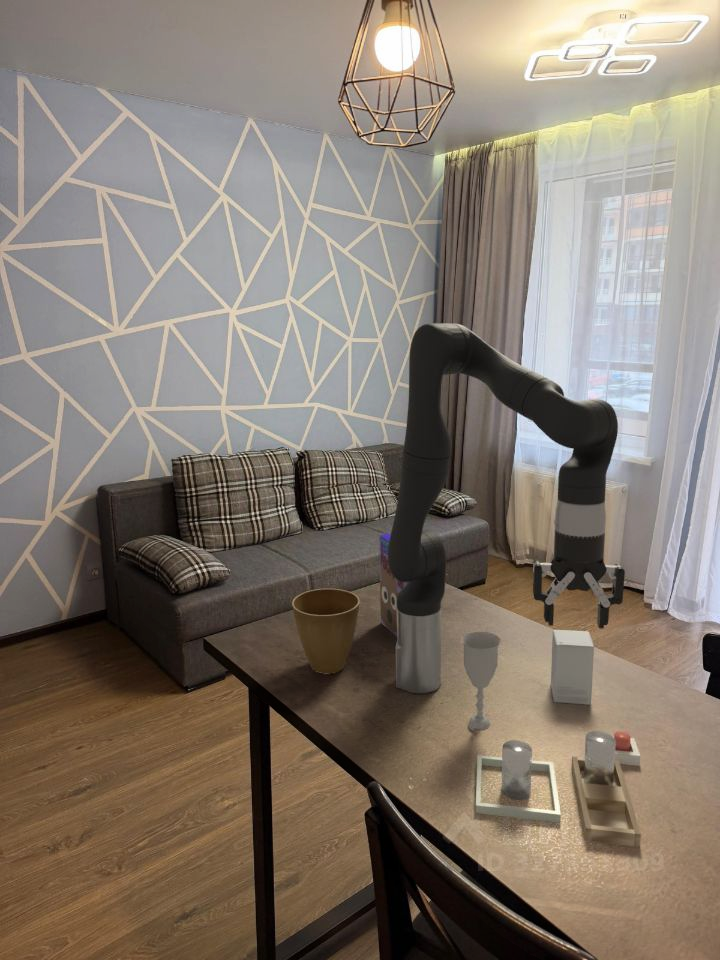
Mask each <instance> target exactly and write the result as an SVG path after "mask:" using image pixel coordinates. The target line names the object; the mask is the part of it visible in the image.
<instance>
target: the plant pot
mask: <svg viewBox="0 0 720 960" xmlns="http://www.w3.org/2000/svg"><path fill="white" fill-rule="evenodd" d="M360 602H361V601H360V597H359V596H358V595H356V594H355V593H353V592H351V591H348V590H344V589H339V588H319V589H318V588H317V589H312V590H307V591H304V592H301V593H300V594H298V595H297V596H295V597H294V598H293V600H292V602H291V605H292V611H293V616H294V620H295V621H294V622H295V625H296V629H297V632H298V633H297V634H298V636H299V638H300V643H301V646H302V648H303V651H304V654H305V656H306V659H307V661H308V663H309V666H310V667H312V668H313V669H314V670H315V671H318V672H322V673H333V672H337V673H339V672H340V670H341V671H342V670H343V669H344V668H345V664H346V662H347V659H348V657H349V654H350V651H351V647H352V645H353V641H354V638H355V637H354V636H355V632H356V628H357V622H358V615H359V609H360ZM312 668H311V669H312ZM313 669H312V670H313ZM315 671H314V672H315ZM338 671H339V672H338Z"/></svg>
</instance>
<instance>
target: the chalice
mask: <svg viewBox="0 0 720 960" xmlns="http://www.w3.org/2000/svg"><path fill="white" fill-rule="evenodd" d="M460 641H461V643H462V645H463V666H464V669H465V672H466V675H467V676H468V679H469V681H470V682H471V684H472V686H473V687H475V688H477V692H476V694H475V698H476V699H477V702H476V703H475V707H476V709H477V712H476V713H474V714H473V715H471V717H470V718H469V721H468V723H467V727H468V729H469V730H471V731H472V732H475V729H476V730H487V729H488V728H490V727H491V725H492V723H491V720H490V718H489V717H488V716H487V715H486V714H484V708H485V706H486V705H485V703H484V698H485V694H484V691H483V690H484V689H485V688H487V687H488V686H489V684H490V682H491V681H492V679H493V677H494V675H495V673H496V670H497V667H498V663H499V662H498V660H499V659H498V658H499V654H498V653H499V651H498V650H499V646H500V644H501V642H502V640H501V638H500V637H499V636H498V635H497V634H494V633H491V632H486V631H473V632H469V633H466V634H464V635H463V636H462V637H461V639H460Z"/></svg>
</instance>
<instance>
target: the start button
mask: <svg viewBox="0 0 720 960" xmlns="http://www.w3.org/2000/svg"><path fill="white" fill-rule="evenodd" d="M613 736H614V739H615V740H616V747H615V750H616V751H627V752H630V739H631V738H632V737H631V736H630V734H628V733H627V732H625V731H616V732H614V734H613Z"/></svg>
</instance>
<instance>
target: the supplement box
mask: <svg viewBox="0 0 720 960" xmlns="http://www.w3.org/2000/svg"><path fill="white" fill-rule="evenodd" d="M551 639H552V640H551V641H552V644H551V645H552V646H551V669H550V670H551V672H550V688H551V693H552V694H551V695H552V699H553V702H554V703H561V704H562V703H564V704H574V705H575V704H576V705H590V706H591V705H592V693H593V691H592V690H593V671H594V653H595V646H594V642H593V639H592V636H591V634H590V632H589V631H586V630H572V629H571V630H569V629H553V630H552V638H551Z"/></svg>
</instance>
